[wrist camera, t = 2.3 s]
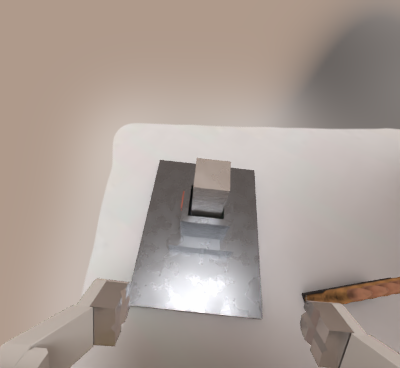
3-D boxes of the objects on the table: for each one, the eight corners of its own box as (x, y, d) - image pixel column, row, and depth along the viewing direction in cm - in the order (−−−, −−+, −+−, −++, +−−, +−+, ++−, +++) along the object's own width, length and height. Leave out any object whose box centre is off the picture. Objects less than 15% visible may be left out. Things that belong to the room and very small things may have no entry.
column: (191, 212, 35) (196, 157, 23) (214, 215, 35) (231, 161, 23) (189, 234, 33) (192, 187, 21) (212, 237, 33) (230, 191, 21)
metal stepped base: (160, 164, 42) (154, 125, 33) (252, 174, 42) (269, 138, 33) (128, 305, 29) (105, 301, 20) (259, 318, 29) (290, 320, 21)
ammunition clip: (365, 281, 33) (447, 267, 23) (371, 295, 32) (461, 286, 22) (301, 293, 31) (358, 283, 21) (306, 307, 30) (368, 305, 20)
